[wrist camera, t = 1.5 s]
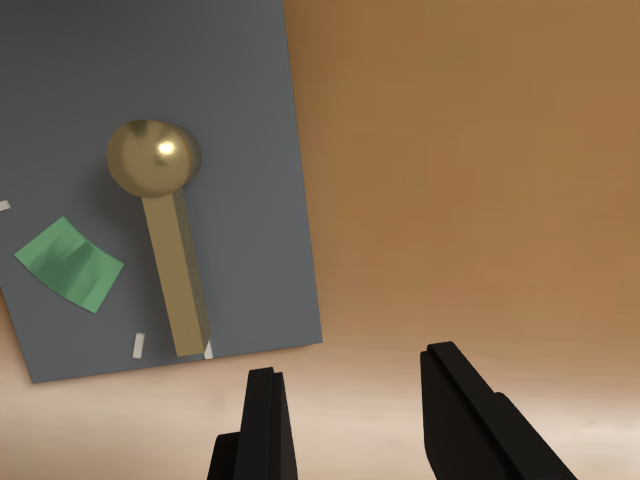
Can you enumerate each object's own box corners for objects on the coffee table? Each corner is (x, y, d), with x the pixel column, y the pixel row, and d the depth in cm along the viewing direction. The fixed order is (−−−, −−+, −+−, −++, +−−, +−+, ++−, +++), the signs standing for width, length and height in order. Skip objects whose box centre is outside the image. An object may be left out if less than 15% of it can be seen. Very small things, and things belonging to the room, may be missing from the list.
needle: (126, 125, 24) (97, 123, 20) (194, 118, 24) (178, 115, 20) (172, 331, 27) (155, 362, 24) (232, 323, 27) (224, 352, 24)
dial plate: (-76, -1, 23) (-104, -12, 21) (277, -32, 24) (277, -45, 22) (45, 371, 29) (31, 385, 27) (320, 332, 30) (322, 343, 28)
